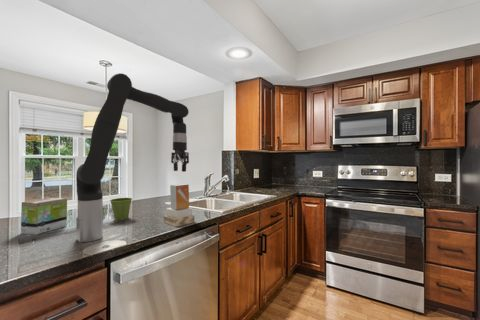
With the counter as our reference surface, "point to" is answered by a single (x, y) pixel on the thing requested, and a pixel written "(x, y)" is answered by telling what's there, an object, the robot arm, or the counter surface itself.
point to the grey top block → (178, 212)
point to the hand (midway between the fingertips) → (179, 171)
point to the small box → (179, 196)
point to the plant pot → (121, 207)
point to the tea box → (43, 215)
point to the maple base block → (178, 220)
